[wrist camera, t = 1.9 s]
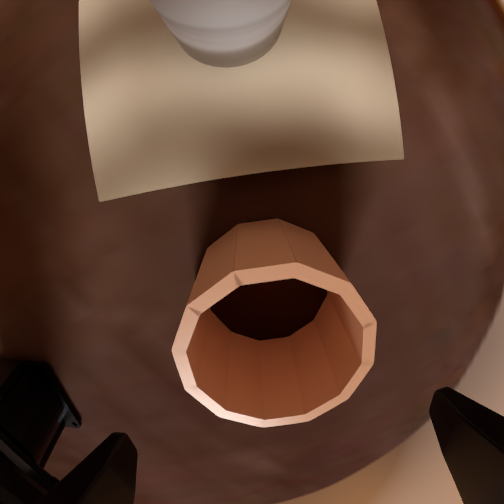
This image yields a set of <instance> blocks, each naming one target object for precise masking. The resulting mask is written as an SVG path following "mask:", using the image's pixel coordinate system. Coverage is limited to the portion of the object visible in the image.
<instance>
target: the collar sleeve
mask: <svg viewBox="0 0 504 504" xmlns="http://www.w3.org/2000/svg"><path fill="white" fill-rule="evenodd" d="M290 278H296V279H298V280H301V281H304V282H306V283H309V284H312V285H315V286H317V287H320V288H323V289H326V290H327V296H326V298H325V300H324V301H323V303H322V305H321V307H320V309H319V311H318V313H317V314H316V316H315V318H314V320H313V321H311V322H310V323H308V324H307V325H305V326H304V327H303V328H301V329H300V330H298V331H296V332H295V333H293V334H292V335H290V336H289V337H282V338H275V339H268V340H261V341H259V340H256V339H252V338H249V337H246V336H243V335H240V334H237V333H234V332H231V331H230V330H229V329H228V328H227V327H226V326H225V325H224V324H223V323H222V322H221V321H220V320H219V319H218V317H217V316H216V315H215V314H214V313H213V312H212V311H211V308H210V307H211V306H212V305H214V304H215V303H217V302H218V301H219V300H221V299H222V298H224V297H225V296H226V295H228V294H229V293H230V292H232V291H233V290H235V289H236V288H237V287H239V286H240V285H247V284H255V283H262V282H269V281H276V280H283V279H290ZM376 325H377V322H376V320H375V318H374V317H373V315H372V314H371V312H370V311H369V309H368V308H367V306H366V305H365V303H364V302H363V300H362V299H361V297H360V296H359V294H358V293H357V291H356V290H355V288H354V287H353V285H352V284H351V283H350V281H349V280H348V278H347V277H346V276H345V274H344V273H343V271H342V270H341V269H340V267H339V266H338V265H337V263H336V262H335V260H334V259H333V258H332V256H331V255H330V254H329V252H328V251H327V250H326V248H325V247H324V246H323V244H322V243H321V242H320V240H319V239H318V238H317V236H316V235H315V234H314V233H313V232H310V231H308V230H305V229H303V228H301V227H298V226H296V225H293V224H291V223H288V222H286V221H283V220H281V219H278V218H277V219H270V220H263V221H255V222H248V223H241V224H237V225H236V226H235V227H233V228H232V229H231V230H230V231H228V232H227V233H226V234H224V235H223V236H222V237H221V238H219V239H218V240H217V241H215V242H214V243H213V244H212V245H210V246H209V247H208V248H207V250H206V253H205V255H204V258H203V261H202V263H201V266H200V269H199V272H198V274H197V277H196V280H195V283H194V286H193V288H192V291H191V294H190V297H189V300H188V303H187V306H186V308H185V311H184V314H183V317H182V320H181V323H180V326H179V329H178V332H177V335H176V338H175V341H174V344H173V347H172V350H171V351H172V354H173V357H174V360H175V363H176V365H177V368H178V371H179V374H180V377H181V380H182V383H183V385H184V388H185V390H186V391H187V392H188V393H190V394H191V395H192V396H193V397H194V398H196V399H197V400H198V401H199V402H201V403H202V404H203V405H204V406H206V407H207V408H208V409H209V410H211V411H212V412H213V413H214V414H216V415H217V416H218V417H221V418H225V419H229V420H233V421H237V422H241V423H245V424H249V425H254V426H258V427H272V426H280V425H287V424H294V423H301V422H307V421H310V420H312V419H314V418H315V417H317V416H319V415H321V414H323V413H325V412H326V411H328V410H330V409H332V408H333V407H335V406H337V405H339V404H340V403H342V402H344V401H346V400H347V399H348V398H349V397H350V396H351V395H352V393H353V392H354V390H355V389H356V388H357V386H358V385H359V384H360V382H361V381H362V380H363V378H364V377H365V375H366V374H367V373H368V371H369V370H370V368H371V367H372V365H373V363H374V354H375V341H376Z"/></svg>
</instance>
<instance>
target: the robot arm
mask: <svg viewBox="0 0 504 504" xmlns="http://www.w3.org/2000/svg"><path fill="white" fill-rule="evenodd" d="M429 413H430V417H431V420H432V423H433V426H434V429H435V432H436V435H437V438H438V442H439V444H440V448H441V451H442V454H443V456H444V459H445V461H446V463H447V466H448V468H449V470H450V472H451V474H452V477H453V479H454V481H455V484H456V486H457V489H458V491H459V493H460V496H461V498H462V501H463V503H464V504H504V417H503V416H501V415H500V414H498V413H496V412H494V411H492V410H490V409H488V408H487V407H485V406H483V405H481V404H479V403H477V402H475V401H474V400H472V399H470V398H468V397H466V396H464V395H462V394H461V393H459V392H457V391H455V390H453V389H451V388H449V387H444V388H441V389H438V390H436V391H435V392H434V395H433V399H432V402H431V405H430V409H429ZM81 424H82V422H81V420H80V419H79V417H78V416H77V414H76V413H75V411H74V409H73V408H72V406H71V404H70V403H69V401H68V399H67V398H66V396H65V394H64V393H63V391H62V389H61V387H60V385H59V384H58V382H57V380H56V378H55V376H54V374H53V373H52V371H51V369H50V367H49V366H48V365H47V364H46V363H44V362H31V361H20V360H6V359H0V504H134V498H135V486H136V470H137V456H138V455H137V450H136V448H135V446H134V444H133V443H132V441H131V440H130V438H129V436H128V435H127V434H126V433H121V432H114V433H112V434H110V435H109V436H108V437H107V438H106V439H105V440H104V441H103V442H102V443H101V444H100V445H99V446H98V447H97V448H96V449H95V450H93V451H92V452H91V453H90V454H89V455H88V456H87V457H86V458H85V459H84V460H83V461H82V462H81V463H79V464H78V465H77V466H76V467H75V468H74V469H73V470H72V471H71V472H70V473H69V474H67V475H66V476H65V477H64V478H63V479H62V480H61V481H59V480H58V479H57V478H55V477H53V476H51V475H50V474H49V473H48V472H46V471H45V470H44V466H45V464H46V462H47V460H48V458H49V456H50V454H51V452H52V450H53V448H54V446H55V444H56V442H57V440H58V438H59V436H60V435H61V433H62V431H63V429H64V427H72V428H80V426H81Z"/></svg>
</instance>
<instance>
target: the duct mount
mask: <svg viewBox="0 0 504 504" xmlns="http://www.w3.org/2000/svg"><path fill="white" fill-rule="evenodd" d="M79 51H80V69H81V83H82V94H83V104H84V113H85V121H86V129H87V136H88V143H89V149H90V155H91V161H92V167H93V173H94V178H95V183H96V188H97V193H98V198H99V202H102V201H107V200H111V199H116V198H120V197H125V196H129V195H134V194H139V193H144V192H149V191H154V190H159V189H164V188H169V187H175V186H180V185H186V184H191V183H197V182H203V181H209V180H215V179H221V178H228V177H234V176H241V175H248V174H255V173H262V172H270V171H277V170H285V169H294V168H303V167H312V166H321V165H331V164H342V163H354V162H367V161H381V160H397V159H404V152H403V141H402V132H401V123H400V115H399V108H398V101H397V94H396V88H395V82H394V76H393V70H392V65H391V60H390V55H389V50H388V45H387V41H386V37H385V32H384V28H383V24H382V20H381V16H380V12H379V9H378V5H377V2H376V0H79Z"/></svg>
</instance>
